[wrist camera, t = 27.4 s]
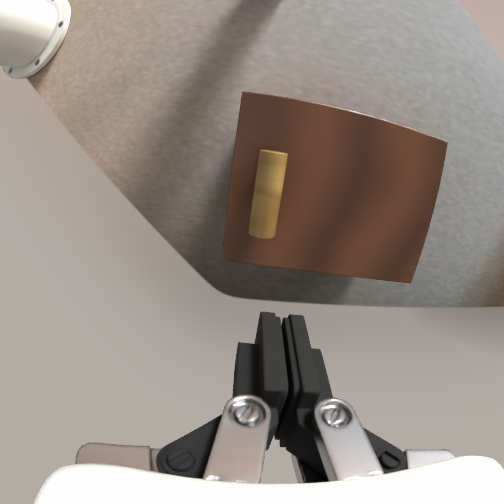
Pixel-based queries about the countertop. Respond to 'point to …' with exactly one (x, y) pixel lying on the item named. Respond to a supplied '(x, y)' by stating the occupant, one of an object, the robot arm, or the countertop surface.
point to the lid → (329, 190)
